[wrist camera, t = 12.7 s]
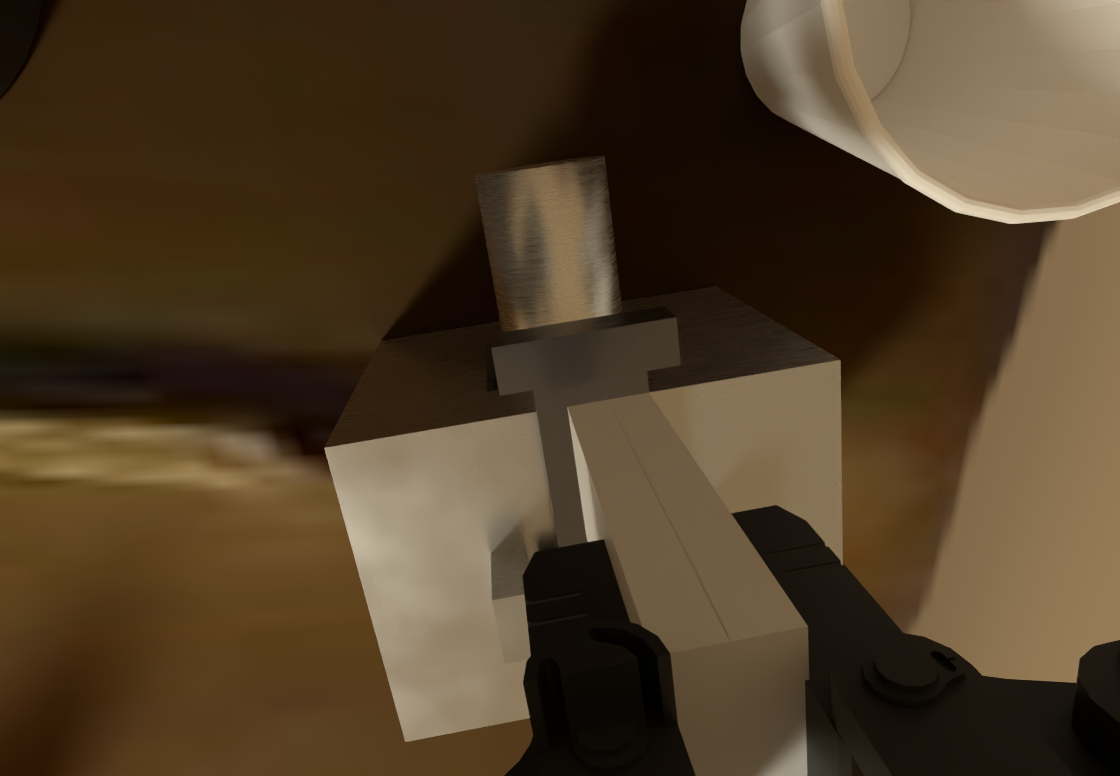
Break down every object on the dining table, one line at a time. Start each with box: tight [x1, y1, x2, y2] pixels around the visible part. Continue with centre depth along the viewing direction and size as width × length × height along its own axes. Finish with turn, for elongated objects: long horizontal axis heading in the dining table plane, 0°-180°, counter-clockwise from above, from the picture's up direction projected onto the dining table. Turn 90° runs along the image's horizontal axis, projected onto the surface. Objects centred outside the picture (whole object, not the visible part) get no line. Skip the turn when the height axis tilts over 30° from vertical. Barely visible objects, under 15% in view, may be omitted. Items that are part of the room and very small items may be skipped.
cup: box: [741, 0, 1120, 224], centre depth 21 cm, size 12×12×12 cm
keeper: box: [490, 306, 681, 548], centre depth 18 cm, size 8×4×1 cm, turn 8°
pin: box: [474, 156, 623, 332], centre depth 25 cm, size 18×6×6 cm, turn 8°
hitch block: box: [325, 286, 843, 742], centre depth 25 cm, size 10×14×13 cm
